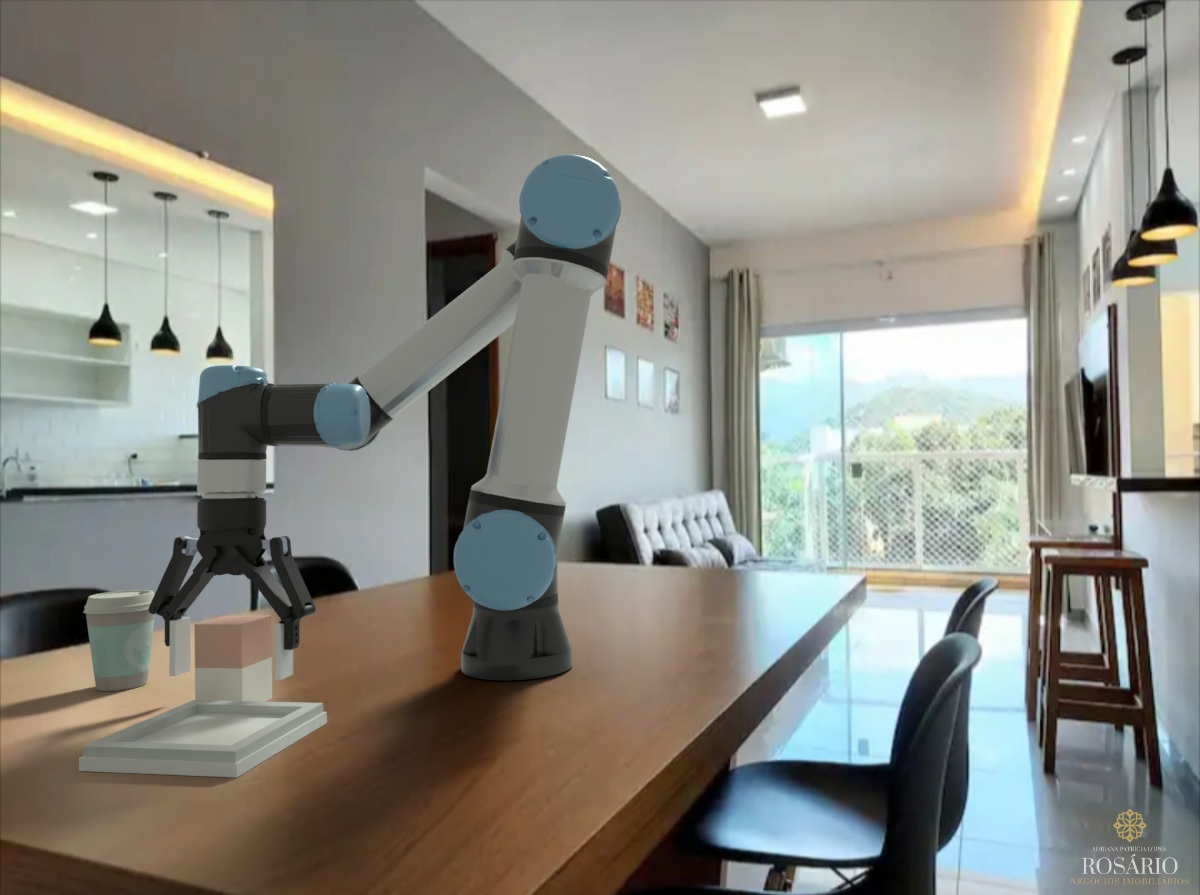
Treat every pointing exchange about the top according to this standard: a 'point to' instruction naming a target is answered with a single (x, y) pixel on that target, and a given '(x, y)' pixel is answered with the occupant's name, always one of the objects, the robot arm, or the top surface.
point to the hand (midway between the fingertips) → (231, 675)
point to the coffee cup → (120, 638)
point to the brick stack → (234, 658)
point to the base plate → (205, 738)
